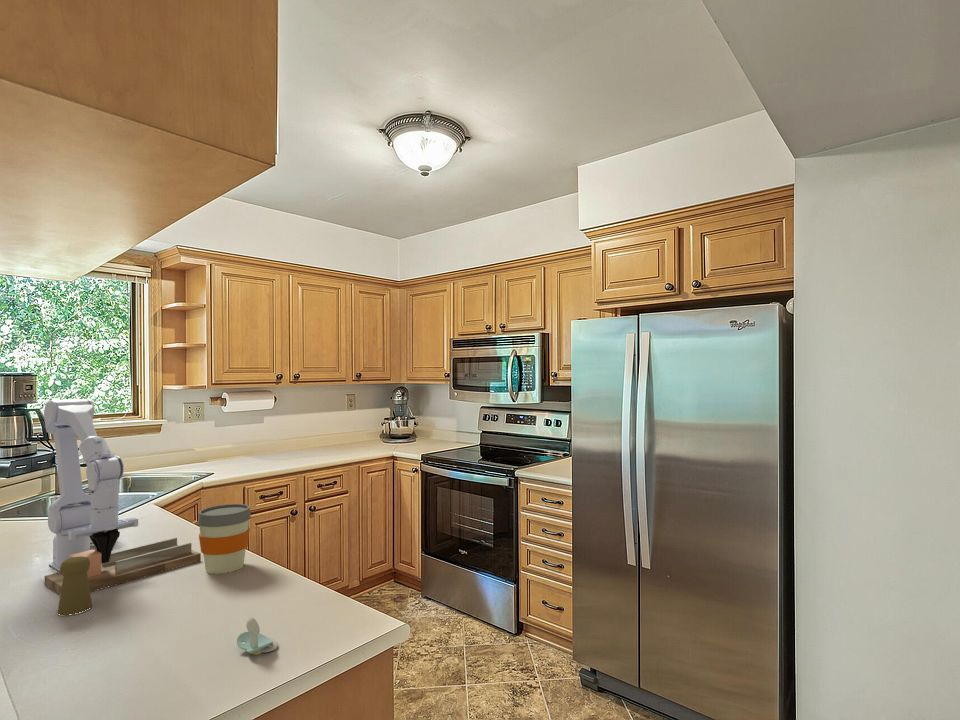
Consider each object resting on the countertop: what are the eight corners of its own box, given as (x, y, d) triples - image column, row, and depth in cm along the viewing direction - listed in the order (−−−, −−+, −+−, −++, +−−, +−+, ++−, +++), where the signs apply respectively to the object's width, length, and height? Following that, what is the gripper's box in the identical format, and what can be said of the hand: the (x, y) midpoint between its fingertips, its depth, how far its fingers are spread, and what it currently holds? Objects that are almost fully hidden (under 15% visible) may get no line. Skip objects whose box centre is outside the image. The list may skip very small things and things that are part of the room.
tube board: (44, 584, 131) (44, 565, 131) (174, 550, 155) (174, 534, 155) (66, 598, 122) (66, 578, 122) (200, 560, 146) (200, 544, 147)
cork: (73, 617, 113) (73, 563, 113) (49, 615, 114) (50, 562, 114) (99, 604, 119) (99, 554, 119) (76, 603, 120) (76, 552, 120)
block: (69, 576, 131) (69, 555, 131) (93, 569, 135) (93, 549, 135) (76, 580, 128) (76, 559, 128) (101, 573, 132) (101, 553, 132)
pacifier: (263, 638, 103) (232, 650, 99) (264, 604, 104) (233, 614, 99) (285, 649, 99) (254, 662, 94) (286, 614, 99) (255, 625, 95)
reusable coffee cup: (205, 580, 132) (205, 518, 133) (191, 567, 142) (191, 509, 142) (258, 568, 140) (257, 509, 141) (242, 556, 150) (241, 501, 150)
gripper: (75, 515, 127) (75, 574, 127) (143, 503, 139) (143, 556, 138) (65, 511, 131) (64, 567, 131) (131, 499, 143) (131, 551, 143)
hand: (104, 561), depth 135 cm, fingers closed
